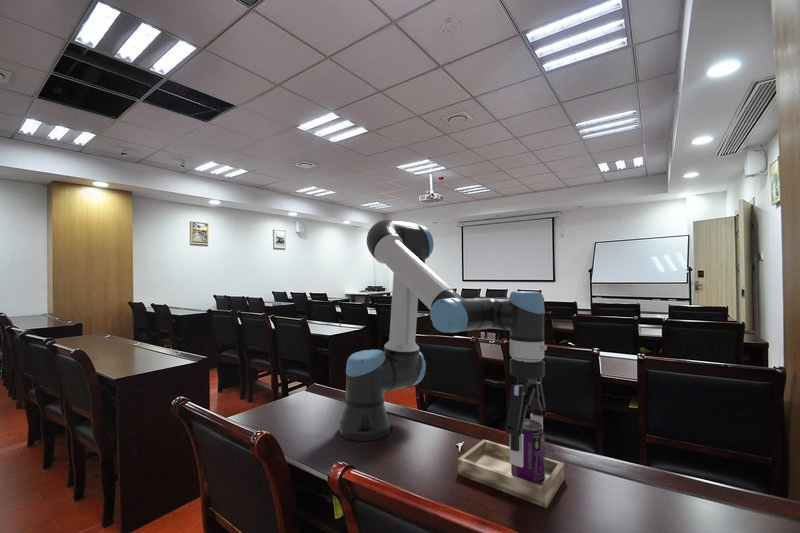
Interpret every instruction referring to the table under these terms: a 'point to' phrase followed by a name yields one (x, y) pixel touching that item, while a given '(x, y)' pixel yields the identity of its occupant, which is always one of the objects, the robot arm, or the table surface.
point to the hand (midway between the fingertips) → (527, 453)
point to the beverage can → (532, 453)
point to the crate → (509, 473)
